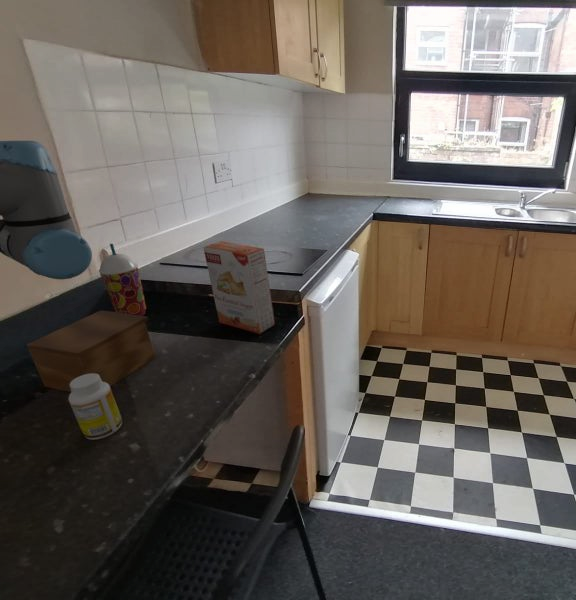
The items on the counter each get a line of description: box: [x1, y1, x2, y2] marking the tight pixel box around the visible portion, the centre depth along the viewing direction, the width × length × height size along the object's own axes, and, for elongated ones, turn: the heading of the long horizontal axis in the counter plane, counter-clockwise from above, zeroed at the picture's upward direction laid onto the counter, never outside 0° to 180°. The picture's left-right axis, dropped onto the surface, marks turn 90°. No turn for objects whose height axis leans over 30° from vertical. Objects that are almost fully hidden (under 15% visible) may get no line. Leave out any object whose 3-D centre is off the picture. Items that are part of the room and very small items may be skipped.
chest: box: [27, 322, 156, 393], centre depth 83 cm, size 15×13×9 cm
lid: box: [26, 309, 149, 357], centre depth 81 cm, size 16×13×1 cm
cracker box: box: [202, 240, 276, 335], centre depth 99 cm, size 14×6×21 cm, turn 65°
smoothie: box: [98, 243, 147, 316], centre depth 104 cm, size 8×8×20 cm
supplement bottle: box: [67, 373, 123, 441], centre depth 66 cm, size 6×6×10 cm
